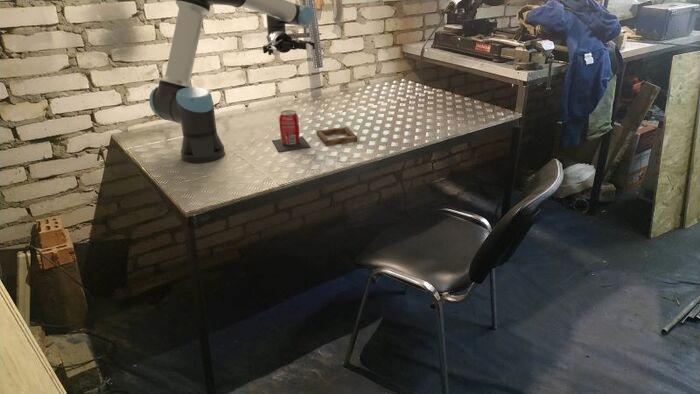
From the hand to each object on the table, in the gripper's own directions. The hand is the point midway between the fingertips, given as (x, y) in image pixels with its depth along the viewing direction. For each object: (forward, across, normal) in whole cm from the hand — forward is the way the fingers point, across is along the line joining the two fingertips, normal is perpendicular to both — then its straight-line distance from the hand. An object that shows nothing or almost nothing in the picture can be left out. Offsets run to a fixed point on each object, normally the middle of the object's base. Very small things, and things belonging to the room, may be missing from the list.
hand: (294, 51), depth 191 cm
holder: (+12, -12, -32) cm, 36 cm away
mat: (+12, +6, -32) cm, 34 cm away
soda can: (+12, +6, -32) cm, 34 cm away
